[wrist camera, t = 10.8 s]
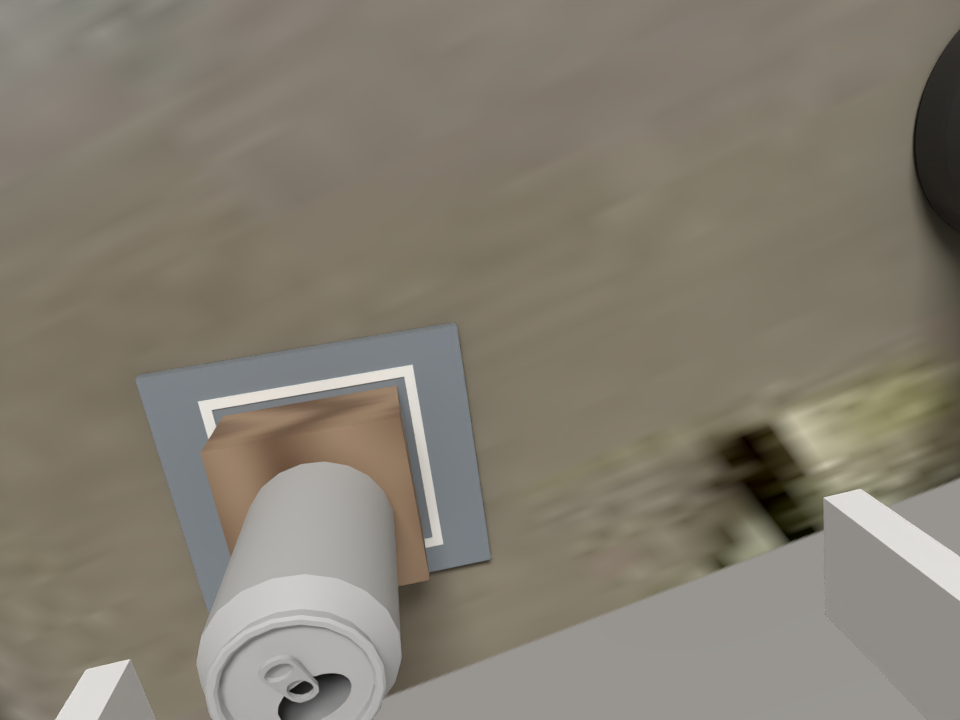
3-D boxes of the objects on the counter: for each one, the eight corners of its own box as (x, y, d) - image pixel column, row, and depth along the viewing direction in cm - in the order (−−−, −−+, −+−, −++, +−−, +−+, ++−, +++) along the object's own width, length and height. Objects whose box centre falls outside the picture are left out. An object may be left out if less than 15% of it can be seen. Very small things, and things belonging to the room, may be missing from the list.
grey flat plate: (455, 322, 38) (457, 325, 37) (488, 552, 43) (491, 560, 42) (140, 374, 36) (134, 379, 35) (213, 609, 41) (209, 619, 40)
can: (303, 603, 35) (269, 812, 24) (218, 503, 33) (135, 681, 21) (420, 533, 35) (442, 709, 24) (343, 427, 33) (327, 566, 21)
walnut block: (396, 385, 38) (400, 416, 33) (423, 532, 41) (429, 579, 36) (223, 415, 36) (200, 452, 32) (263, 564, 39) (248, 618, 35)
